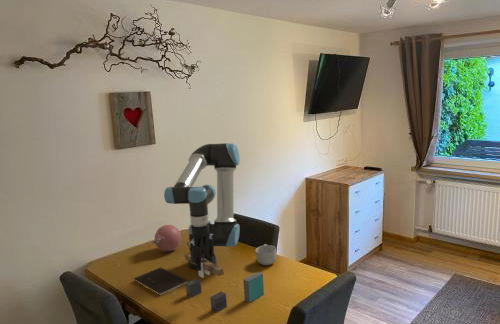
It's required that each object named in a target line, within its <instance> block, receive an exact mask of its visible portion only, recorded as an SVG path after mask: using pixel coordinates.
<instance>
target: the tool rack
mask: <svg viewBox="0 0 500 324" xmlns="http://www.w3.org/2000/svg"><path fill="white" fill-rule="evenodd" d="M185 290H186V296H187V297H188V298H190V299H191V298H194V297H196V296H198V295H199V294H201V293H202V282H201V280H200V279H199V278H195V279H192V280H191V281H188V283H186V284H185ZM227 302H228V301H227V294H226V293H225V292H223V291H220V292H217V293H216V294H214V295H211V296H210V309H211V311H212V312H214V313H215V314H216V313H218V312H220V311H222V310H224V309H225V308H227V307H228V304H227Z"/></svg>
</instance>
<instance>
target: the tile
mask: <svg viewBox="0 0 500 324" xmlns="http://www.w3.org/2000/svg"><path fill="white" fill-rule="evenodd" d="M242 281H243V295H244V296H243V297H244V301H245V302H247V303H252V302H253V301H256V300H257V299H259V298H260V297H263V296H264V294H265V293H264V292H265V290H264V289H265V288H264V273H262V272H259V271H256V272H255V273H253V274H251V275H248V276H247V277H245V278H243V280H242Z"/></svg>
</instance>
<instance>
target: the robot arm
mask: <svg viewBox="0 0 500 324" xmlns="http://www.w3.org/2000/svg"><path fill="white" fill-rule="evenodd" d="M240 160H241V159H240V154H239V149H238V147H237V145H236V144H234V143H227V142H226V143H206V144H204V145H201V146H199V147H198V148H196V150H194V151H193V152H192V153H191V154H190V156H189V157H188V163H187V165H185V168H184V169H183V171H182V172H181V174H180V175H179V177H178V178H177V180H176V182H175V184H174V185H173V186H168V187H166V188H165V190H164V193H163V195H164V201H165V203H166V204H174V205H177V204H178V205H181V204H182V205H184V204H188V205H189V216H190V217H189V218H190V225H189V226H188V239H189V241H188V242H187V246H188V248H189V253H190V254H191V259H192V262H193V263H195V264H196V265H195V264H193V263H191V262H189V261H187V264H188V268H190V269H191V270H197V271H198V277H201V278H202V279H203V278H205V275H207V276H210V275H211V272H210V271H208V270H205V269H203V263H201V258H202V259H204V260H206V261H209V262H211V263H213V264H215V265H217V257H216V254H215V248H214V247H226V248H228V247H230V248H231V247H235V246H236V245H237V244H238V242H239V238H240V232H241V231H240V230H241V228H240V224H239V223H237V219H235V218H234V172H235V171H236V170H237V166H239V165H240ZM209 166H213V167H214V170H215V171H216V189H215V188H214V186H212V185H211V184H204V185H202V186H194V185H195V183H196V181H197V179H198V177H199V176H200V174H201V172H202V170H204V169H206V167H209ZM216 190H217V191H216ZM215 197H216V218H215V219H214V221H213V223H211V221H210V220H209V210H208V209H209V207H208V206H209V204H210V203H211V202H213V200H214V198H215Z"/></svg>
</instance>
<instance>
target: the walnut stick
mask: <svg viewBox="0 0 500 324" xmlns="http://www.w3.org/2000/svg"><path fill="white" fill-rule="evenodd" d="M184 259H185V261H186V262H188V261H189V262H191V263H193V262H192V259H191V254H190V252H188V253H185V254H184ZM201 263H203V270H204V269H205V270H208V271H210V273H212V274H214V275H216V276H217V277H220V276H222V275H224V268H223V267H222V266H219V265H217V264H213V263H211V262H209V261H206V260H204V259H202V258H201ZM193 264H195V263H193ZM195 265H196V264H195ZM205 270H204V271H205Z"/></svg>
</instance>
